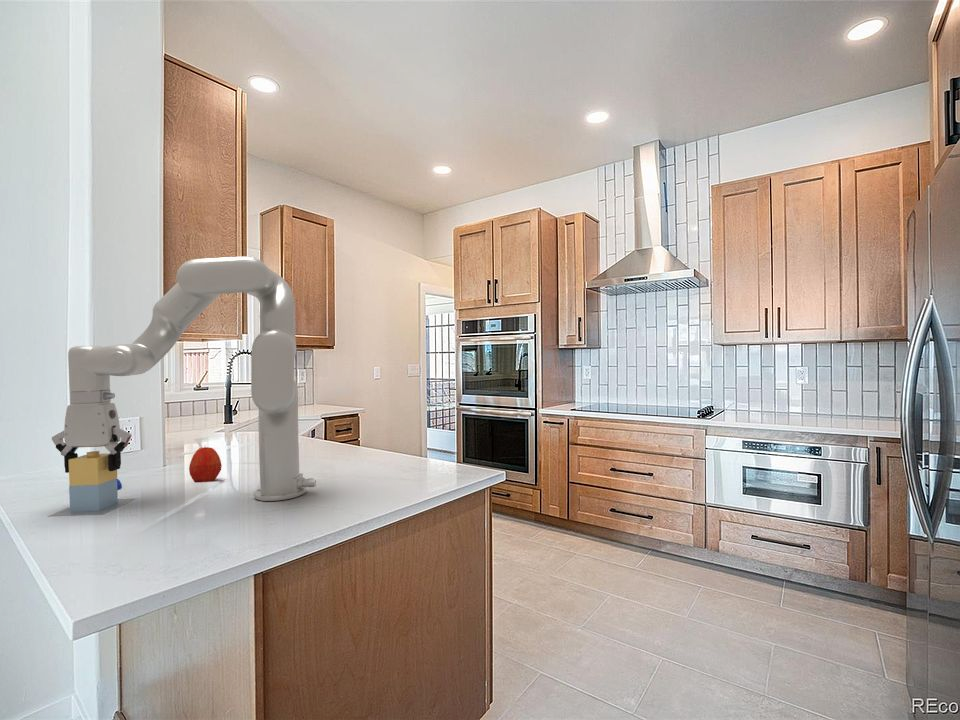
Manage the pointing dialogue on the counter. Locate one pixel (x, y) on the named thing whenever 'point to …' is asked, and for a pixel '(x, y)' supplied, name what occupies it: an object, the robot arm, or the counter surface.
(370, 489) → the counter surface
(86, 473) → the ochre brick
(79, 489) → the blue brick
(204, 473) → the apple
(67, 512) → the baseplate
